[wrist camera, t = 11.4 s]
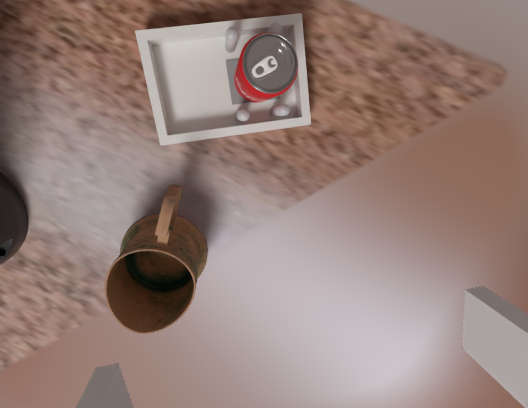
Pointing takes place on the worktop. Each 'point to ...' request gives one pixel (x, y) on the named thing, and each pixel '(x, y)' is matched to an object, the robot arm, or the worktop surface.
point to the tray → (217, 79)
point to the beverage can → (265, 67)
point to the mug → (156, 269)
